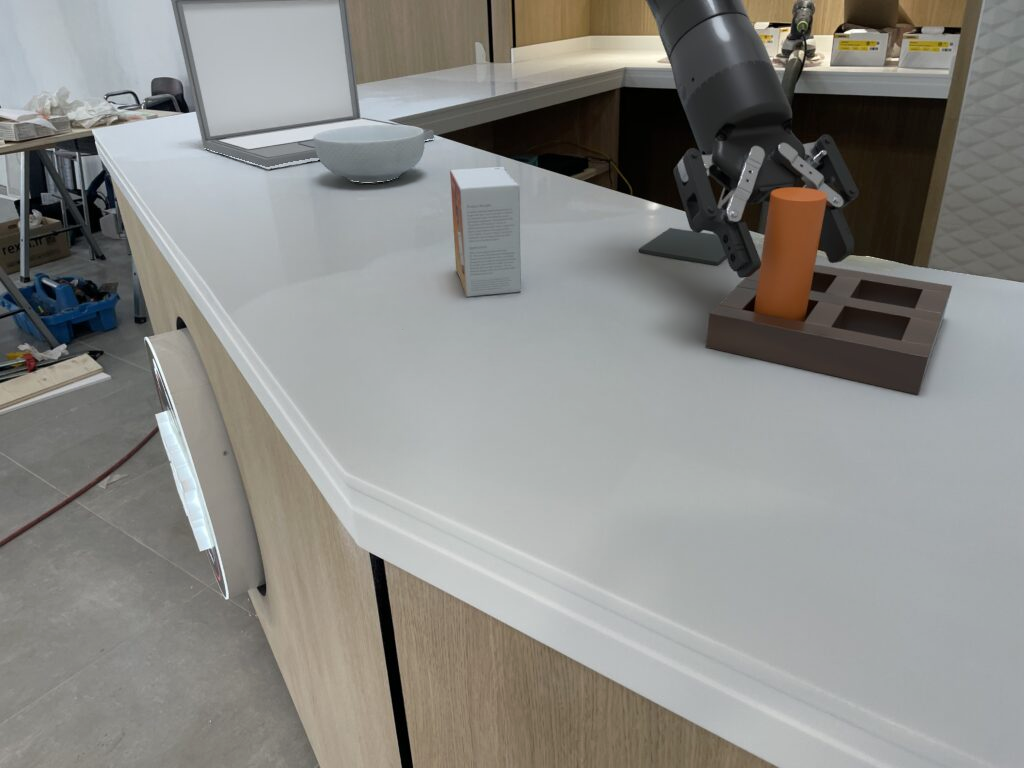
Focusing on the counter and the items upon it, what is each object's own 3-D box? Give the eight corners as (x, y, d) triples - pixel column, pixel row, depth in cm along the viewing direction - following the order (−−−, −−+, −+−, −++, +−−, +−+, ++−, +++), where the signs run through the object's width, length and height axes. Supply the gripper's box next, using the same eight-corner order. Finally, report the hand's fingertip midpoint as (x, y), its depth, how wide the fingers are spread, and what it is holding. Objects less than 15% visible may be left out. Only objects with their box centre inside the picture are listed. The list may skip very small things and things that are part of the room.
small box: (455, 270, 77) (448, 168, 72) (507, 265, 78) (504, 165, 73) (465, 298, 70) (458, 187, 65) (522, 292, 71) (519, 183, 66)
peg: (758, 325, 63) (779, 184, 57) (806, 335, 61) (832, 190, 55) (743, 342, 60) (764, 196, 54) (793, 353, 58) (820, 202, 52)
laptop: (267, 170, 123) (235, -5, 110) (203, 149, 141) (169, -3, 128) (434, 140, 143) (423, -11, 130) (359, 125, 161) (343, -9, 148)
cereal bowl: (447, 171, 119) (444, 125, 115) (386, 195, 106) (380, 145, 102) (364, 163, 126) (358, 120, 122) (297, 185, 113) (289, 137, 109)
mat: (669, 231, 87) (670, 227, 87) (744, 242, 83) (745, 238, 83) (638, 252, 81) (638, 248, 80) (717, 265, 76) (718, 261, 76)
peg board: (762, 286, 71) (766, 256, 69) (943, 318, 63) (952, 285, 62) (705, 347, 59) (709, 313, 58) (918, 395, 52) (928, 357, 50)
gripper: (671, 62, 55) (744, 255, 51) (827, 52, 59) (906, 229, 55) (634, 126, 62) (695, 299, 58) (775, 112, 66) (842, 274, 62)
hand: (798, 265), depth 56 cm, fingers open, 8 cm apart
